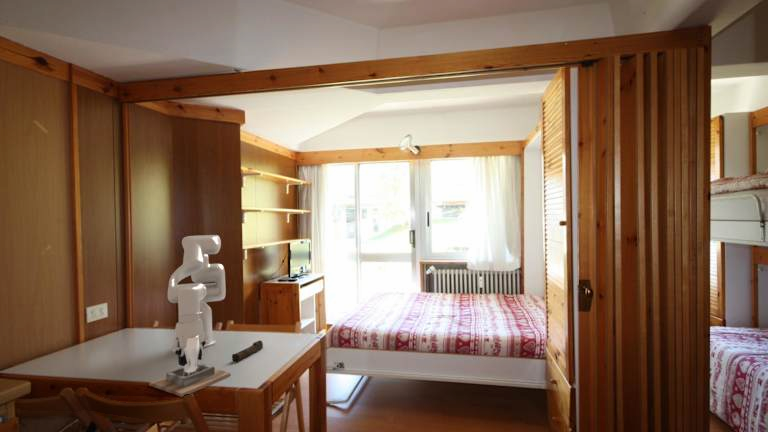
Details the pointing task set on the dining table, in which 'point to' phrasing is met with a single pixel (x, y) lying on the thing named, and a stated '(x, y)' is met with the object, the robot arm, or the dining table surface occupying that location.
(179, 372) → the glass dock
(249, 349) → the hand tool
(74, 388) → the dining table surface
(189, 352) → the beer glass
